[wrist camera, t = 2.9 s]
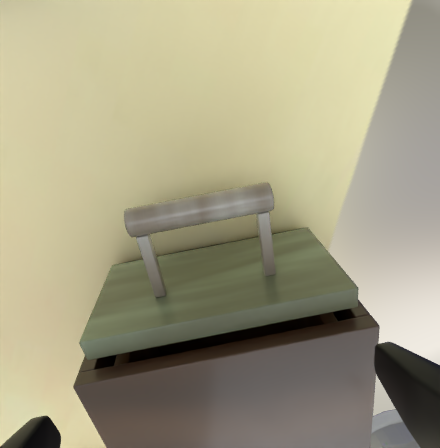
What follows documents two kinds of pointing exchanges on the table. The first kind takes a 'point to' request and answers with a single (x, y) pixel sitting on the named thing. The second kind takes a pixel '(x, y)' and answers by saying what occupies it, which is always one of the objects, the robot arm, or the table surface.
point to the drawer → (213, 282)
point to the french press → (390, 432)
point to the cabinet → (243, 391)
